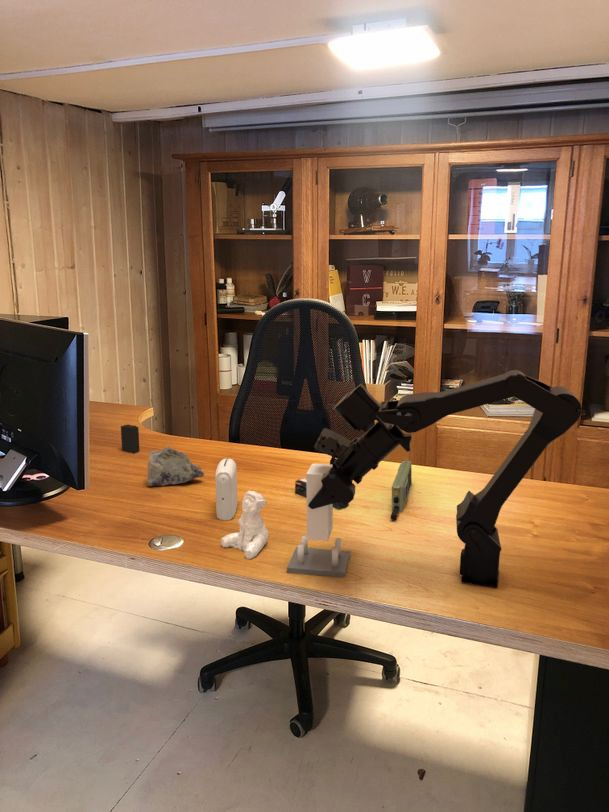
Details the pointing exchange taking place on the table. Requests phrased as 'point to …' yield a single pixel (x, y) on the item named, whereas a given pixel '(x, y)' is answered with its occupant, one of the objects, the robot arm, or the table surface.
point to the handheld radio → (401, 488)
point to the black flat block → (302, 491)
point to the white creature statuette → (249, 527)
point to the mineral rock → (170, 468)
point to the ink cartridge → (130, 438)
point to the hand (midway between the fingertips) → (312, 500)
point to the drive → (322, 516)
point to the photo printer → (226, 489)
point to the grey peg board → (319, 560)
